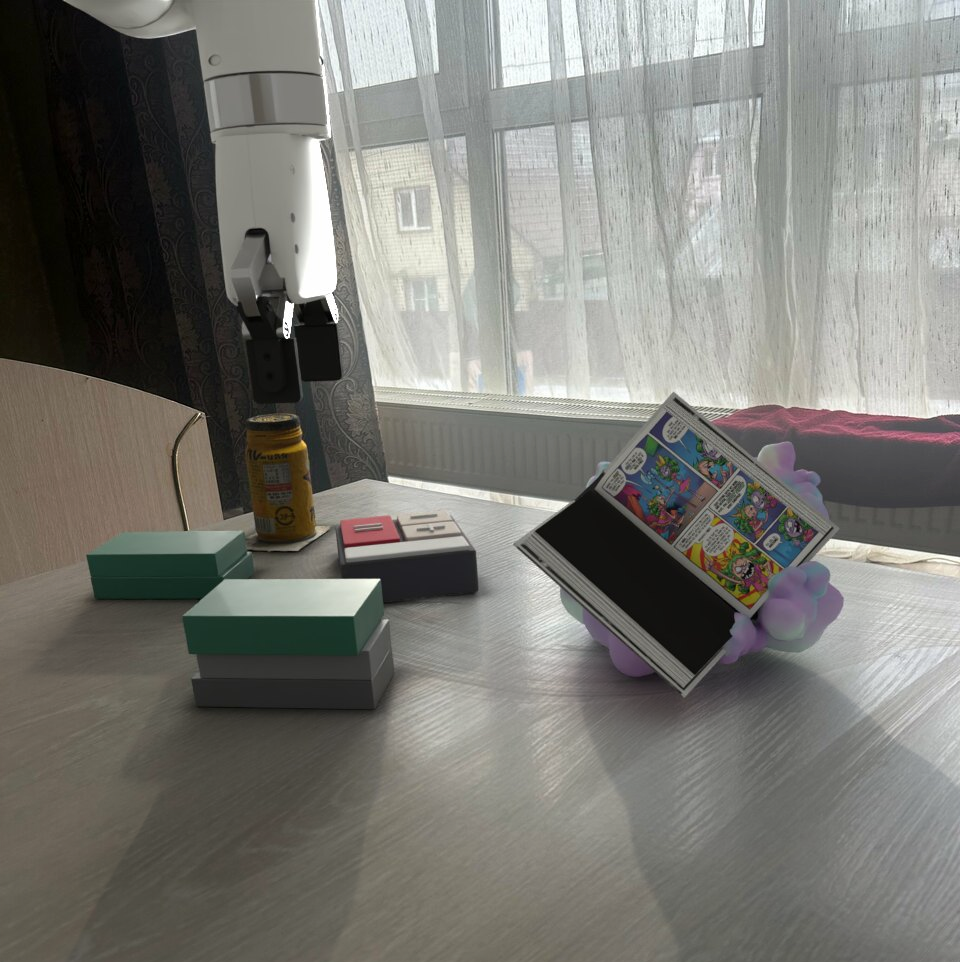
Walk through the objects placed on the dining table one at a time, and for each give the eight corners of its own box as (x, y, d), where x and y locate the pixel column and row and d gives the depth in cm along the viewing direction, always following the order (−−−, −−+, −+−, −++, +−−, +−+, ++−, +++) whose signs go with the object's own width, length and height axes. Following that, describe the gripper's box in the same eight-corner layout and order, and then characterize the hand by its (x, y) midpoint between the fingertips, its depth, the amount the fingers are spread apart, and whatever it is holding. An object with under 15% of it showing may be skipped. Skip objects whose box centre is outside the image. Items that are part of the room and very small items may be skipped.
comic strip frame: (782, 519, 81) (676, 332, 73) (970, 591, 61) (851, 344, 54) (583, 674, 80) (458, 501, 73) (707, 796, 61) (553, 575, 54)
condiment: (332, 528, 104) (318, 410, 99) (298, 552, 96) (281, 427, 91) (268, 526, 105) (252, 411, 101) (229, 550, 98) (210, 427, 93)
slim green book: (188, 654, 63) (181, 616, 62) (230, 614, 69) (224, 579, 68) (357, 656, 61) (353, 616, 60) (384, 614, 68) (380, 578, 67)
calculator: (450, 505, 95) (476, 541, 81) (453, 549, 96) (479, 592, 82) (333, 517, 93) (339, 555, 79) (339, 561, 95) (345, 607, 81)
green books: (94, 599, 86) (85, 555, 85) (132, 573, 93) (123, 531, 91) (226, 599, 85) (218, 553, 83) (255, 572, 91) (248, 530, 89)
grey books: (195, 706, 65) (185, 650, 64) (228, 671, 70) (219, 618, 69) (374, 709, 63) (368, 651, 62) (394, 673, 68) (389, 618, 67)
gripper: (259, 130, 72) (289, 375, 78) (152, 105, 56) (201, 414, 62) (361, 123, 71) (383, 371, 77) (281, 94, 55) (317, 411, 61)
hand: (301, 390), depth 70 cm, fingers open, 9 cm apart
